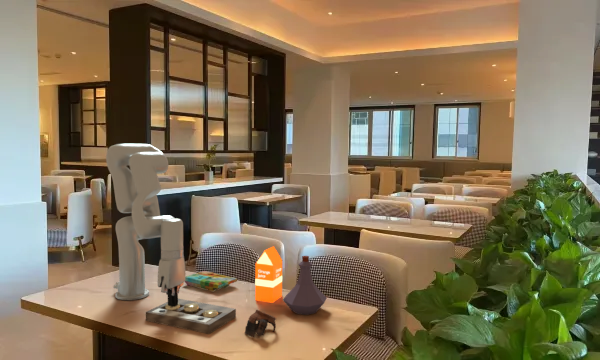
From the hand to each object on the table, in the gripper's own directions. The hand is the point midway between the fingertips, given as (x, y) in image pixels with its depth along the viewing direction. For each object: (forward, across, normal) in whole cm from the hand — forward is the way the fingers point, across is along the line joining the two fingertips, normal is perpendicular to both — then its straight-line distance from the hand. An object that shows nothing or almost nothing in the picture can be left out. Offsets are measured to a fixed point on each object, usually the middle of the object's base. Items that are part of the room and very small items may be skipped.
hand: (172, 305), depth 165 cm
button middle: (+1, 0, +8) cm, 8 cm away
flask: (+4, -25, +40) cm, 47 cm away
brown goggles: (+4, 0, +35) cm, 36 cm away
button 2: (+2, 0, +16) cm, 16 cm away
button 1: (+2, 0, 0) cm, 2 cm away
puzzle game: (+4, -34, -8) cm, 35 cm away
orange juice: (+4, -31, +22) cm, 38 cm away
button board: (+4, 0, +8) cm, 9 cm away
